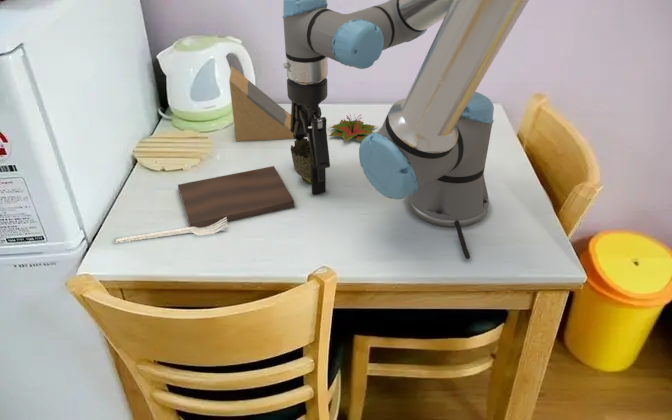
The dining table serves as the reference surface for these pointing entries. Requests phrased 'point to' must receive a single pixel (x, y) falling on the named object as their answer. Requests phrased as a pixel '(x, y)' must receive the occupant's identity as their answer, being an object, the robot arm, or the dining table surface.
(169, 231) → the fork
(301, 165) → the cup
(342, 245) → the dining table surface
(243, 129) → the sandwich container
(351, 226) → the dining table surface
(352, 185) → the dining table surface
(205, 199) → the walnut board
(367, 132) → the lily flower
